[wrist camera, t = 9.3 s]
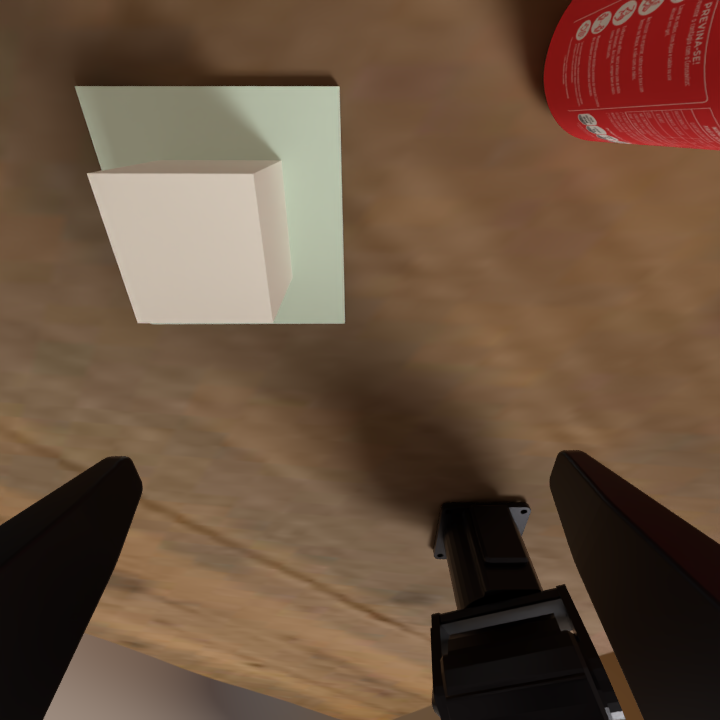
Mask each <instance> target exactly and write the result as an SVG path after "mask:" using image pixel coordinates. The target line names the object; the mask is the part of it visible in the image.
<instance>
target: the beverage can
mask: <svg viewBox="0 0 720 720" xmlns="http://www.w3.org/2000/svg"><path fill="white" fill-rule="evenodd" d="M543 88H544V94H545V98H546V101H547V104H548V106H549V109H550V111H551V113H552V115H553V117H554V119H555V120H556V122H557V123H558V124H559V125H560V126H561V127H562V128H563V129H564V130H565V131H566V132H568V133H569V134H571V135H572V136H574V137H577V138H580V139H583V140H588V141H599V142H613V143H627V144H640V145H654V146H668V147H682V148H695V149H709V150H720V0H572V1H571V3H570V4H569V6H568V7H567V9H566V10H565V12H564V14H563V15H562V17H561V19H560V21H559V23H558V25H557V27H556V29H555V32H554V34H553V37H552V39H551V42H550V45H549V48H548V51H547V54H546V58H545V62H544V69H543Z"/></svg>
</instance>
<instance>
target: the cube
mask: <svg viewBox="0 0 720 720" xmlns="http://www.w3.org/2000/svg"><path fill="white" fill-rule="evenodd" d="M87 176H88V178H89V181H90V184H91V187H92V190H93V193H94V196H95V199H96V202H97V205H98V208H99V211H100V214H101V217H102V220H103V222H104V225H105V228H106V231H107V234H108V237H109V240H110V243H111V246H112V249H113V252H114V255H115V258H116V261H117V264H118V266H119V269H120V272H121V275H122V278H123V281H124V284H125V287H126V290H127V293H128V296H129V299H130V302H131V305H132V308H133V310H134V313H135V316H136V319H137V322H138V323H273V322H274V320H275V317H276V315H277V312H278V310H279V308H280V305H281V303H282V301H283V298H284V296H285V294H286V291H287V289H288V287H289V284H290V282H291V280H292V277H293V276H292V266H291V255H290V245H289V234H288V224H287V213H286V202H285V192H284V181H283V171H282V160H158V161H152V162H147V163H141V164H136V165H130V166H125V167H119V168H114V169H108V170H103V171H98V172H92V173H87Z"/></svg>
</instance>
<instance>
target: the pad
mask: <svg viewBox="0 0 720 720" xmlns="http://www.w3.org/2000/svg"><path fill="white" fill-rule="evenodd" d="M75 89H76V92H77V95H78V98H79V101H80V105H81V108H82V111H83V114H84V117H85V120H86V123H87V126H88V129H89V132H90V136H91V139H92V142H93V145H94V148H95V151H96V154H97V157H98V160H99V163H100V166H101V170H102V171H103V170H108V169H114V168H119V167H125V166H130V165H136V164H141V163H147V162H152V161H158V160H282V171H283V181H284V192H285V202H286V213H287V224H288V234H289V245H290V255H291V266H292V276H293V277H292V280H291V282H290V284H289V287H288V289H287V291H286V294H285V296H284V298H283V301H282V303H281V305H280V308H279V310H278V312H277V315H276V317H275V320H274V322H273V323H151V324H345V294H344V250H343V207H342V164H341V121H340V87H339V86H75Z"/></svg>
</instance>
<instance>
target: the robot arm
mask: <svg viewBox="0 0 720 720" xmlns="http://www.w3.org/2000/svg"><path fill="white" fill-rule="evenodd" d="M142 489H143V486H142V481H141V479H140V477H139V475H138V472H137V470H136V468H135V466H134V464H133V461H132V460H131V459H130V458H129V457H126V456H111V457H107V458H105V459H103V460H101V461H100V462H98V463H97V464H95V465H94V466H92V467H91V468H89V469H87V470H86V471H84V472H83V473H81V474H80V475H78V476H77V477H75V478H73V479H72V480H70V481H69V482H67V483H66V484H64V485H63V486H61V487H59V488H58V489H56V490H55V491H53V492H52V493H50V494H49V495H47V496H45V497H44V498H42V499H41V500H39V501H38V502H36V503H35V504H33V505H31V506H30V507H28V508H27V509H25V510H24V511H22V512H20V513H19V514H17V515H16V516H14V517H13V518H11V519H10V520H8V521H6V522H5V523H3V524H2V525H0V720H43V719H44V716H45V714H46V712H47V710H48V708H49V706H50V704H51V702H52V700H53V697H54V695H55V693H56V691H57V689H58V687H59V685H60V683H61V681H62V678H63V676H64V674H65V672H66V670H67V668H68V666H69V664H70V661H71V659H72V657H73V655H74V653H75V651H76V649H77V647H78V644H79V642H80V640H81V638H82V636H83V634H84V632H85V630H86V628H87V626H88V623H89V621H90V619H91V617H92V615H93V613H94V611H95V609H96V607H97V604H98V602H99V600H100V598H101V596H102V594H103V592H104V590H105V588H106V585H107V583H108V581H109V579H110V577H111V575H112V572H113V570H114V568H115V566H116V563H117V561H118V558H119V556H120V553H121V550H122V548H123V545H124V542H125V539H126V536H127V534H128V531H129V528H130V525H131V523H132V520H133V517H134V514H135V511H136V509H137V506H138V503H139V500H140V497H141V494H142ZM550 489H551V492H552V495H553V498H554V502H555V505H556V508H557V511H558V514H559V517H560V520H561V523H562V526H563V529H564V532H565V535H566V538H567V542H568V545H569V548H570V551H571V553H572V556H573V559H574V562H575V564H576V567H577V569H578V571H579V574H580V576H581V578H582V581H583V583H584V585H585V587H586V590H587V592H588V594H589V596H590V599H591V601H592V603H593V605H594V608H595V610H596V612H597V614H598V617H599V619H600V621H601V623H602V626H603V628H604V630H605V632H606V635H607V637H608V639H609V642H610V644H611V646H612V648H613V651H614V653H615V655H616V657H617V660H618V662H619V664H620V666H621V668H622V671H623V673H624V675H625V678H626V680H627V682H628V684H629V687H630V689H631V691H632V693H633V696H634V698H635V700H636V702H637V705H638V707H639V709H640V712H641V714H642V716H643V718H644V720H720V544H718V543H717V542H716V541H714V540H713V539H711V538H710V537H708V536H707V535H705V534H704V533H702V532H701V531H699V530H698V529H696V528H695V527H693V526H692V525H691V524H689V523H688V522H686V521H685V520H683V519H682V518H680V517H679V516H677V515H676V514H674V513H673V512H671V511H670V510H668V509H667V508H666V507H664V506H663V505H661V504H660V503H658V502H657V501H655V500H654V499H652V498H651V497H649V496H648V495H646V494H645V493H643V492H642V491H641V490H639V489H638V488H636V487H635V486H633V485H632V484H630V483H629V482H627V481H626V480H624V479H623V478H621V477H620V476H618V475H617V474H616V473H614V472H613V471H611V470H610V469H608V468H607V467H605V466H604V465H602V464H601V463H599V462H598V461H596V460H595V459H593V458H592V457H590V456H589V455H588V454H586V453H584V452H583V451H579V450H564V451H561V452H559V453H558V455H557V458H556V461H555V464H554V467H553V470H552V473H551V476H550ZM530 512H531V509H530V507H529V505H528V504H527V503H445V504H443V505H442V506H441V509H440V515H439V520H438V526H437V532H436V538H435V543H434V549H433V553H434V557H435V558H436V559H447V562H448V567H449V572H450V577H451V581H452V586H453V591H454V596H455V601H456V606H457V610H456V611H452V612H447V613H443V614H440V613H435V614H432V615H431V618H432V628H431V651H432V674H433V691H432V706H433V709H434V712H435V713H436V714H437V715H438V716H439V717H440V718H441V720H626V719H625V717H624V714H623V712H622V709H621V707H620V704H619V702H618V699H617V697H616V695H615V692H614V690H613V687H612V685H611V683H610V681H609V678H608V676H607V674H606V672H605V669H604V667H603V665H602V663H601V660H600V658H599V656H598V654H597V652H596V649H595V647H594V645H593V643H592V641H591V639H590V637H589V635H588V633H587V630H586V628H585V626H584V624H583V622H582V620H581V618H580V616H579V614H578V611H577V609H576V607H575V605H574V603H573V601H572V599H571V597H570V595H569V592H568V590H567V588H566V586H565V584H563V585H559V586H556V588H553V589H549V590H545V591H543V589H542V587H541V584H540V582H539V579H538V577H537V574H536V572H535V569H534V567H533V564H532V562H531V559H530V557H529V554H528V552H527V549H526V547H525V544H524V542H523V539H522V537H521V536H522V534H523V531H524V528H525V526H526V523H527V520H528V518H529V515H530ZM571 630H573V633H574V634H573V633H571V632H570V631H571Z"/></svg>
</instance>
